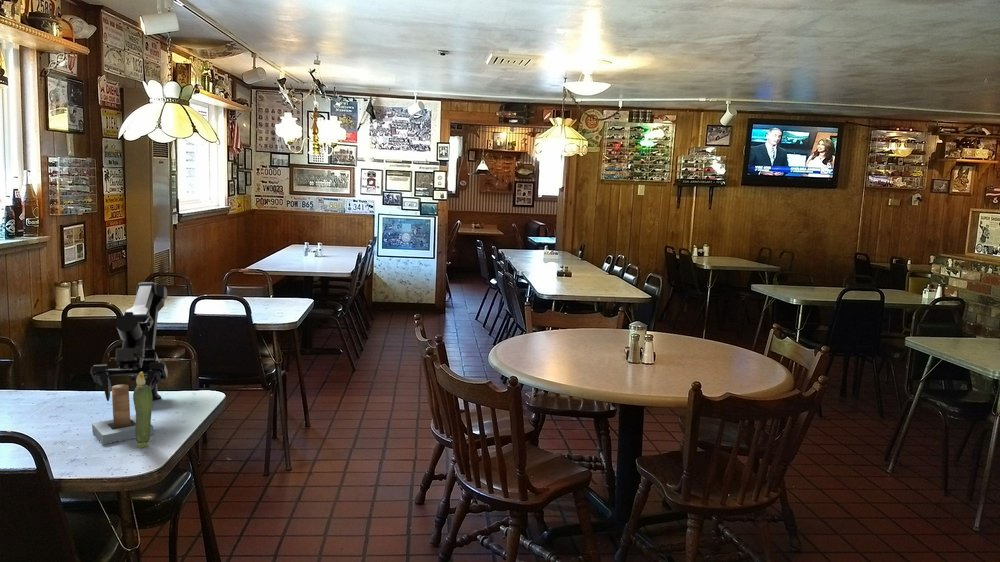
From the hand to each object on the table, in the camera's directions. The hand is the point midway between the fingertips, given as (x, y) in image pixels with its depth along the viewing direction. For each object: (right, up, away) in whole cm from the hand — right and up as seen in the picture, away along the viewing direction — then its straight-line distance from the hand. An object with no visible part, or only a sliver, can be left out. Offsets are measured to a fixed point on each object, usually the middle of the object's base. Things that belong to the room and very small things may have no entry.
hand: (126, 399), depth 195 cm
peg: (+1, -8, -5) cm, 10 cm away
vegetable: (+12, -10, -14) cm, 21 cm away
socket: (+1, -8, -5) cm, 10 cm away
